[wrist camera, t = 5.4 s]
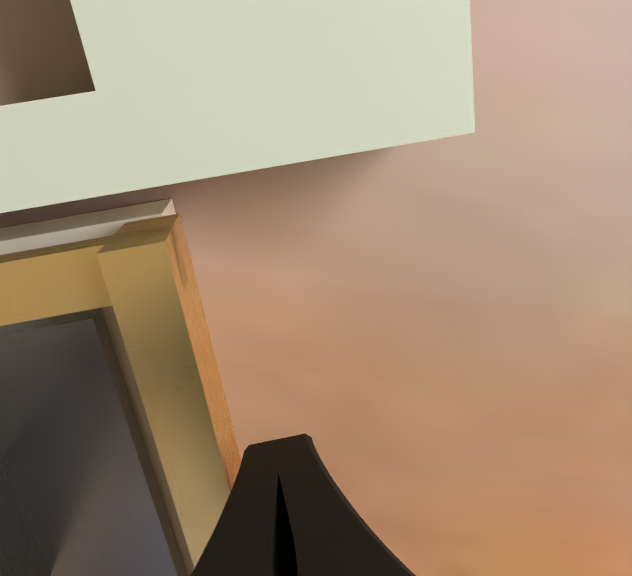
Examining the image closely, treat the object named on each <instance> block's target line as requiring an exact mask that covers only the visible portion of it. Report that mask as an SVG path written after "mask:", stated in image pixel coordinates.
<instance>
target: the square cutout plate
mask: <svg viewBox="0 0 632 576" xmlns="http://www.w3.org/2000/svg"><path fill="white" fill-rule="evenodd" d="M70 1H71V5H72V8H73V12H74V15H75V19H76V23H77V26H78V30H79V33H80V37H81V40H82V44H83V48H84V51H85V55H86V58H87V62H88V65H89V69H90V73H91V76H92V80H93V83H94V87H95V90H96V91H92V92H85V93H79V94H72V95H66V96H60V97H53V98H47V99H41V100H34V101H28V102H22V103H15V104H9V105H3V106H0V213H4V212H10V211H16V210H22V209H28V208H34V207H40V206H46V205H51V204H57V203H63V202H69V201H75V200H81V199H87V198H93V197H98V196H104V195H110V194H116V193H122V192H128V191H134V190H140V189H145V188H151V187H157V186H163V185H169V184H175V183H181V182H187V181H192V180H198V179H204V178H210V177H216V176H222V175H228V174H234V173H239V172H245V171H251V170H257V169H263V168H269V167H275V166H281V165H286V164H292V163H298V162H304V161H310V160H316V159H322V158H327V157H333V156H339V155H345V154H351V153H357V152H363V151H369V150H374V149H380V148H386V147H392V146H398V145H404V144H410V143H416V142H421V141H427V140H433V139H439V138H445V137H451V136H457V135H463V134H468V133H474V132H475V119H474V95H473V70H472V45H471V21H470V0H70Z"/></svg>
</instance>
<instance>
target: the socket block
mask: <svg viewBox="0 0 632 576" xmlns="http://www.w3.org/2000/svg"><path fill="white" fill-rule="evenodd" d="M173 214H176V213H175V209H174V205H173V201H172V199H167V200H161V201H155V202H150V203H144V204H138V205H132V206H126V207H120V208H115V209H109V210H103V211H97V212H91V213H86V214H80V215H74V216H68V217H62V218H57V219H51V220H45V221H39V222H33V223H27V224H22V225H16V226H10V227H4V228H0V255H3V254H9V253H15V252H20V251H26V250H32V249H37V248H43V247H49V246H55V245H60V244H66V243H72V242H77V241H83V240H89V239H94V238H100V237H106V236H112V235H114V234H115V233H116V232H117V231H118V230H119V229H120V228H121V227H122V225H123V224H124V223H127V222H133V221H138V220H144V219H150V218H156V217H161V216H167V215H173ZM101 308H102V311H103V314H104V317H105V321H106V324H107V327H108V330H109V333H110V336H111V339H112V342H113V345H114V349H115V352H116V355H117V358H118V361H119V364H120V367H121V370H122V373H123V377H124V380H125V383H126V386H127V389H128V392H129V395H130V398H131V401H132V405H133V408H134V411H135V414H136V417H137V420H138V423H139V426H140V429H141V433H142V436H143V439H144V442H145V445H146V448H147V451H148V454H149V457H150V461H151V464H152V467H153V470H154V473H155V476H156V479H157V482H158V485H159V489H160V492H161V495H162V498H163V501H164V504H165V507H166V510H167V513H168V517H169V520H170V523H171V526H172V529H173V532H174V535H175V538H176V541H177V545H178V548H179V551H180V554H181V557H182V560H183V563H184V566H185V569H186V573H187V576H190V575H191V574H192V572H193V570H194V565H193V562H192V559H191V555H190V552H189V549H188V546H187V543H186V539H185V536H184V533H183V530H182V527H181V523H180V520H179V517H178V514H177V511H176V507H175V504H174V501H173V498H172V495H171V491H170V488H169V485H168V482H167V479H166V475H165V472H164V469H163V466H162V462H161V459H160V456H159V453H158V450H157V446H156V443H155V440H154V437H153V434H152V430H151V427H150V424H149V421H148V418H147V414H146V411H145V408H144V405H143V402H142V398H141V395H140V392H139V389H138V386H137V382H136V379H135V376H134V373H133V370H132V366H131V363H130V360H129V357H128V354H127V350H126V347H125V344H124V341H123V337H122V334H121V331H120V328H119V325H118V321H117V318H116V315H115V312H114V309H113V305H112V306H107V307H101Z"/></svg>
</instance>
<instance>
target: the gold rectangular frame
mask: <svg viewBox="0 0 632 576" xmlns="http://www.w3.org/2000/svg"><path fill="white" fill-rule="evenodd" d="M112 305H113V309H114V312H115V315H116V318H117V321H118V325H119V328H120V331H121V334H122V337H123V341H124V344H125V347H126V350H127V354H128V357H129V360H130V363H131V366H132V370H133V373H134V376H135V379H136V382H137V386H138V389H139V392H140V395H141V398H142V402H143V405H144V408H145V411H146V414H147V418H148V421H149V424H150V427H151V430H152V434H153V437H154V440H155V443H156V446H157V450H158V453H159V456H160V459H161V462H162V466H163V469H164V472H165V475H166V479H167V482H168V485H169V488H170V491H171V495H172V498H173V501H174V504H175V507H176V511H177V514H178V517H179V520H180V523H181V527H182V530H183V533H184V536H185V539H186V543H187V546H188V549H189V552H190V555H191V559H192V562H193V565H194V568H195V566H196V565H197V563H198V561H199V559H200V557H201V555H202V553H203V551H204V549H205V547H206V545H207V543H208V541H209V539H210V537H211V535H212V533H213V531H214V529H215V527H216V525H217V523H218V520H219V518H220V516H221V513H222V511H223V509H224V506H225V504H226V502H227V500H228V497H229V495H230V492H231V490H232V487H233V484H234V482H235V479H236V476H237V474H238V471H239V468H240V465H241V460H240V456H239V452H238V447H237V443H236V439H235V435H234V431H233V427H232V423H231V419H230V415H229V411H228V407H227V403H226V399H225V395H224V391H223V386H222V382H221V378H220V374H219V370H218V366H217V362H216V358H215V354H214V350H213V346H212V342H211V338H210V334H209V330H208V325H207V321H206V317H205V313H204V309H203V305H202V301H201V297H200V293H199V289H198V285H197V281H196V277H195V273H194V269H193V264H192V260H191V256H190V252H189V248H188V244H187V240H186V236H185V232H184V228H183V224H182V220H181V216H180V213H179V214H173V215H167V216H161V217H156V218H150V219H144V220H138V221H133V222H127V223H124V224H123V225H122V227H121V228H120V229H119V230H118V231H117V232H116V233H115V234H114V235H112V236H106V237H100V238H94V239H89V240H83V241H77V242H72V243H66V244H60V245H55V246H49V247H43V248H37V249H32V250H26V251H20V252H15V253H9V254H3V255H0V326H3V325H9V324H14V323H20V322H25V321H31V320H36V319H41V318H47V317H52V316H58V315H63V314H69V313H74V312H80V311H85V310H90V309H96V308H101V307H107V306H112Z"/></svg>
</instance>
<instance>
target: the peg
mask: <svg viewBox="0 0 632 576" xmlns="http://www.w3.org/2000/svg"><path fill="white" fill-rule="evenodd" d="M0 576H187V573H186V569H185V566H184V563H183V560H182V557H181V554H180V551H179V548H178V545H177V541H176V538H175V535H174V532H173V529H172V526H171V523H170V520H169V517H168V513H167V510H166V507H165V504H164V501H163V498H162V495H161V492H160V489H159V485H158V482H157V479H156V476H155V473H154V470H153V467H152V464H151V461H150V457H149V454H148V451H147V448H146V445H145V442H144V439H143V436H142V433H141V429H140V426H139V423H138V420H137V417H136V414H135V411H134V408H133V405H132V401H131V398H130V395H129V392H128V389H127V386H126V383H125V380H124V377H123V373H122V370H121V367H120V364H119V361H118V358H117V355H116V352H115V349H114V345H113V342H112V339H111V336H110V333H109V330H108V327H107V324H106V321H105V317H104V314H103V311H102V308H96V309H90V310H85V311H80V312H74V313H69V314H63V315H58V316H52V317H47V318H41V319H36V320H31V321H25V322H20V323H14V324H9V325H3V326H0Z"/></svg>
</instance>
